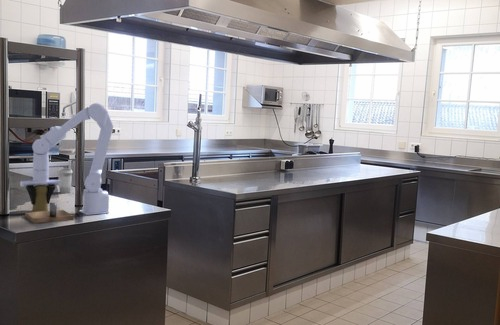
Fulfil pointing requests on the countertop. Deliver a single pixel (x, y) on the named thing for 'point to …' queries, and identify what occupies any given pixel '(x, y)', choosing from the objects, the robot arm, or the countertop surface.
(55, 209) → the steel dowel
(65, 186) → the cup
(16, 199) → the countertop surface
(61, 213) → the board
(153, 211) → the countertop surface
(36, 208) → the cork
